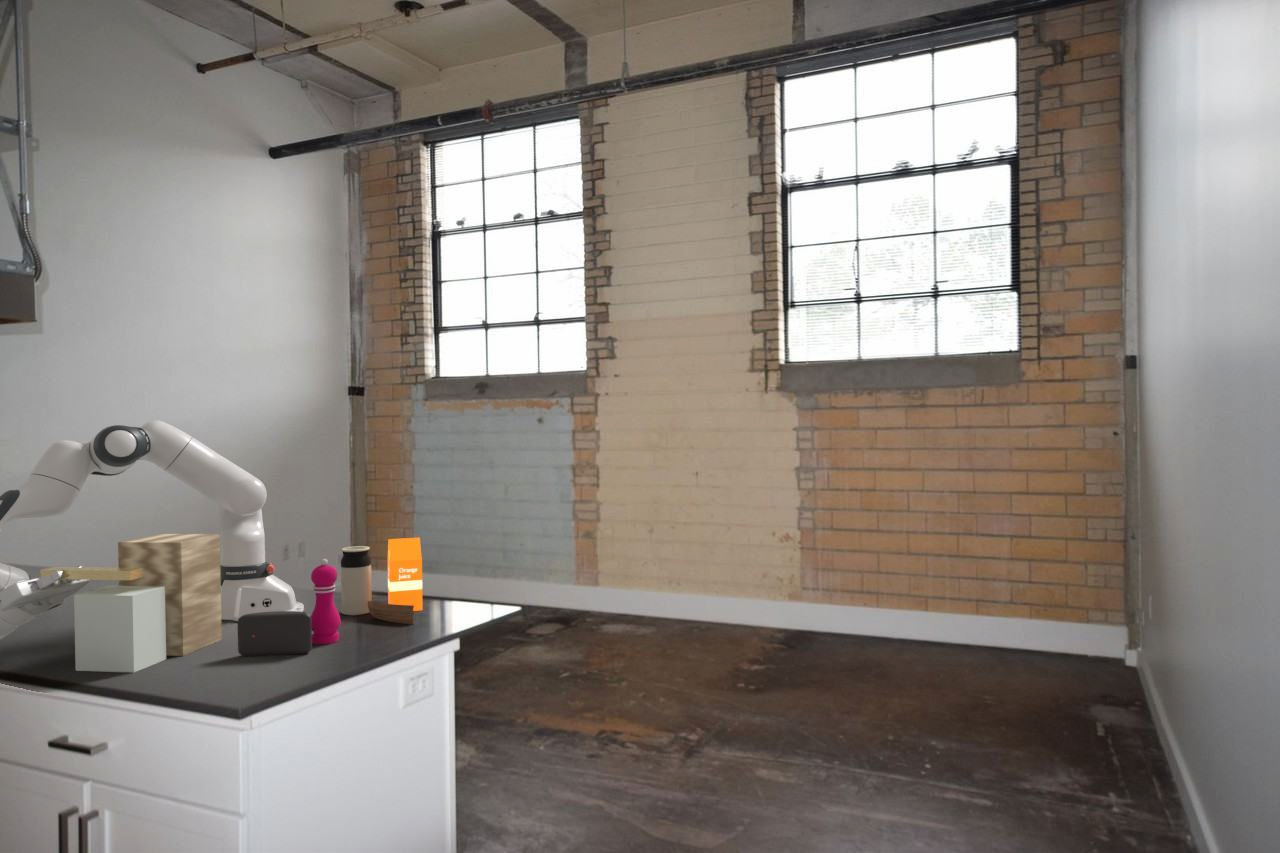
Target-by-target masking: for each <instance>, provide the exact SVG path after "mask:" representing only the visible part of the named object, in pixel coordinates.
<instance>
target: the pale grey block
mask: <svg viewBox="0 0 1280 853" xmlns="http://www.w3.org/2000/svg"><path fill="white" fill-rule="evenodd" d="M73 609H74V610H73V612H74V653H75V654H74V655H75V656H74V657H75V658H74V660H75V671H76V672H102V673H103V672H106V673H137V672H138V671H141V670H144V669H146V668H149V667H151V666H154V665H156V664H159V663H160V662H161V663H162V662H163V661H166V660H167V655H166V617H165V587H163V586H119V585H105V586H102V587H98V588H95V589H90V590H88V591H83V592H79V593H75V594H73Z"/></svg>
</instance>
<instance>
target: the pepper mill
mask: <svg viewBox="0 0 1280 853" xmlns="http://www.w3.org/2000/svg"><path fill="white" fill-rule="evenodd" d="M328 563H329V561H328V559H327V558H322V559H321V560H320V562H319V564H320V565H318V566H317V567H315V568H314V569H312V571H311V574H310V580H311V582H312V583H313V585H314V586H313V592H314V594H315V605H314V609H313V611H312V613H311V615H310V616H311V624H312V645H329V644H334V643H336V642H338V641H339V640H340V633H339V631H338V629H339V628H340V627H341V623H342V620H341V616H340V613H339V612H338V609H337V607H336V605H335V600H334V592H335V591H336V584H335V583H336V581H337V579H338V571H337V569H336V568H335V567H334V566H332V565H329V564H328Z"/></svg>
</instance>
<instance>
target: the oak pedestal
mask: <svg viewBox="0 0 1280 853" xmlns="http://www.w3.org/2000/svg"><path fill="white" fill-rule="evenodd" d="M117 552H118V553H117V555H118V556H117V558H118V568H143V577H141V578H138V579H134V580H118V586H163V587H165V617H166V656H174V657H177V656H178V657H179V656H180V657H184V656H186V655H189V654H192V653H193V652H196V651H199V650H201V649H204V648H206V647H208V646H210V645H213V644H215V642H216V643H217V642H220V641H222V640H223V639H222V638H223V637H222V636H223V634H222V633H223V632H222V619H221V578H220V565H221V533H220V534H219V533H213V534H212V533H159V534H153V535H148V536H143V537H138V538H132V539H127V540H123V541H118V542H117Z"/></svg>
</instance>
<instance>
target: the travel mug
mask: <svg viewBox="0 0 1280 853" xmlns="http://www.w3.org/2000/svg"><path fill="white" fill-rule="evenodd" d="M370 549H371V548H370V546H365V545H364V546H363V545H358V546H357V545H355V546H345V547H344V548H341V552H342V558H341V559H340V583H341V584H340V590H341V591H340V594H341V595H340V596H341V600H340V601H341V602H340V603H341V614H343V615H344V616H362V615H367V614H370V612H369V609H368V601H373V600H372V599H373V598H372V596H373V594H372V592H373V590H372V559H371V556H370V555H369V551H370Z"/></svg>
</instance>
